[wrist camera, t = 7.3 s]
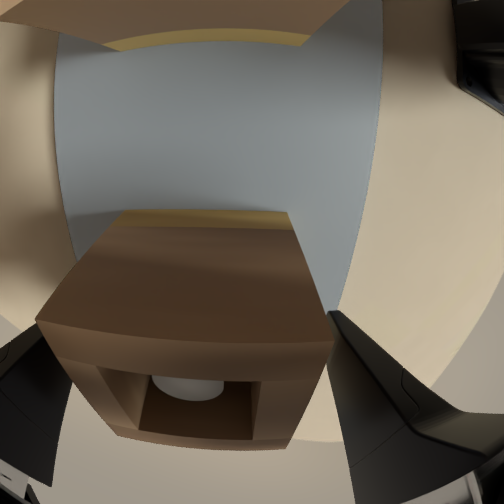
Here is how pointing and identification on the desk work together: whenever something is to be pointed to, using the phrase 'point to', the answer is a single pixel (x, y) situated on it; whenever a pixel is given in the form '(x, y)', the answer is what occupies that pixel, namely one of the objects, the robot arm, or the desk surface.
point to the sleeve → (193, 327)
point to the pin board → (217, 117)
